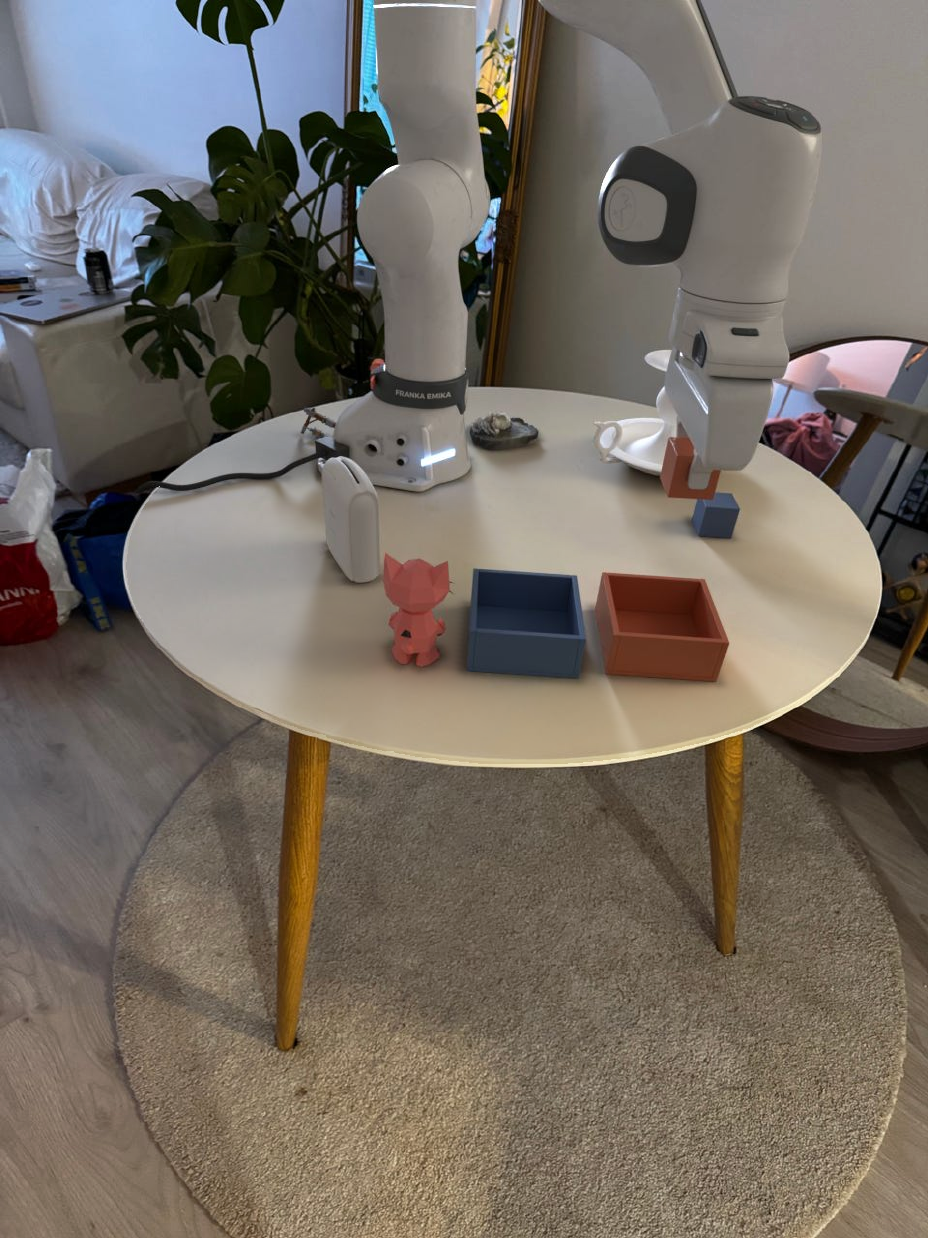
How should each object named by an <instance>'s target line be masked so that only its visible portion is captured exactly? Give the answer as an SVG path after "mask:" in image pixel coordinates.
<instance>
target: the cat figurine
mask: <svg viewBox="0 0 928 1238" xmlns="http://www.w3.org/2000/svg"><path fill="white" fill-rule="evenodd" d="M383 555H384V557H383V571H382V572H383V573H382V574H383V575H382V583H383V587H384V592H385V596H386V597H387V598H388V600H389V601H390V602H391V604H392V605H393V606H395V607H398V611H395V612H393V613H391V616H390V618H389V620H388V626H390V628H391V629H392V630H393V637H394V645H393V646H392V647H391V649H390V650H391V653H392V655H393V657H394V658H393V659H395V661H397V662H398V663H399V664H400V665H406V664H408V663H409V662H410V661H411V659H412V657H413V656H412V655H413V654H417V655H416V657H415V664H416V666H417V667H420V668H422V667H426V666H429V665H431V664H433V663H434V662H435V661H437V660H438V659H439V658H440V657H441V654H440V649H439V648H437V646H435V644H436V643H437V639H438V637H440V636H442V635H443V634H445V632H446V621H444V620H443V619H442V618H440V617H438V619H437V621H436V619H435V616H434V614H433V611H432V610H433V609H434V608H436V607H437V606H438V605H439V604H440V603H442V602H443V601H444V600H445V598H446V596H447V595H448V593H449V592H450V593H451V594H453V595H454V596H455V595H456V594H455V593H453V591H451V587H450V583H451V584H456V583H455V582H452V581H450V573H449V561H448V560H446V561H444V562H442V563H440V564H437V565H435V566H434V565H432V564H431V563H429V561H426V560H424V559H421V558H412V559H408V560H406V561H405V562H403V563H401V562H400V561H399V560H397V559H395V558H394V557H392V556H391V555H390V554H388V553H387V552H384V554H383Z"/></svg>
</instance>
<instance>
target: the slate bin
mask: <svg viewBox="0 0 928 1238" xmlns="http://www.w3.org/2000/svg"><path fill="white" fill-rule="evenodd" d="M580 594H581V593H580V585H579V580H578V575H576V574H572V575H571V574H562V573H547V572H546V573H545V572H534V571H533V572H532V571H520V570H519V571H518V570H504V569H501V570H500V569H491V568H489V569H488V568H476V567H474V568H473V569H472V580H471V595H470V607H469V608H470V609H469V625H468V639H467V640H468V643H467V658H466V671H467V672H479V673H492V674H506V675H507V674H508V675H520V676H535V677H551V678H567V679H579V678H580V674H581V670H582V669H581V668H582V662H583V658H584V652H585V647H586V642H587V637H586V636H587V635H586V629H585V622H584V615H583V608H582V600H581V595H580Z"/></svg>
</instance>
